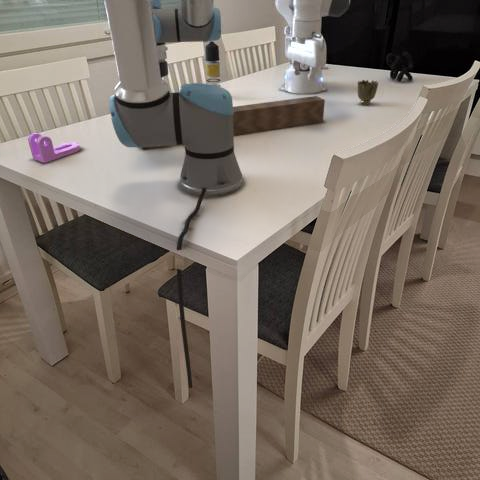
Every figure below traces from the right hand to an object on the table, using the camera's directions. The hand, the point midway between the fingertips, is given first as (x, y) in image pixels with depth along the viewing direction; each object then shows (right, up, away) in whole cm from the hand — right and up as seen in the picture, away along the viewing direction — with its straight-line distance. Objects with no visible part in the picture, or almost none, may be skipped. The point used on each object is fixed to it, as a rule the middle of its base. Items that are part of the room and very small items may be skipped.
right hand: (303, 77), depth 143 cm
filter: (-31, +7, +40) cm, 51 cm away
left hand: (-44, -22, -8) cm, 50 cm away
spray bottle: (+13, +31, +76) cm, 83 cm away
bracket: (-73, -27, -14) cm, 79 cm away
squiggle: (+52, +20, +57) cm, 80 cm away
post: (-22, -18, 0) cm, 28 cm away
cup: (+27, -1, +25) cm, 37 cm away
